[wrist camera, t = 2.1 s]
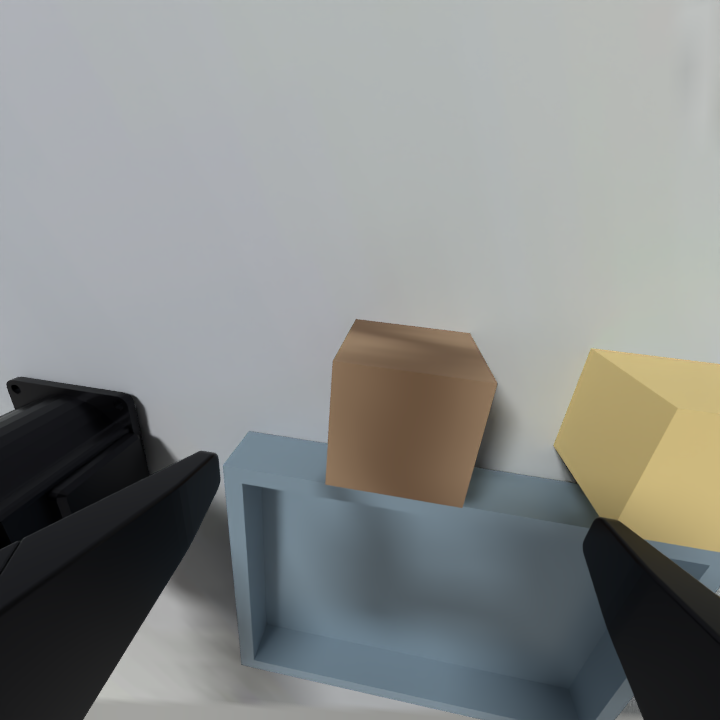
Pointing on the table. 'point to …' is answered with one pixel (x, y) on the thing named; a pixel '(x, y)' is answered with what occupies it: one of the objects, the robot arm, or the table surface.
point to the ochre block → (648, 445)
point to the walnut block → (407, 412)
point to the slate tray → (425, 588)
